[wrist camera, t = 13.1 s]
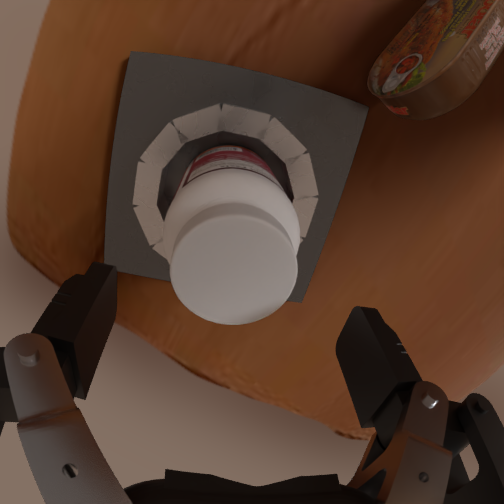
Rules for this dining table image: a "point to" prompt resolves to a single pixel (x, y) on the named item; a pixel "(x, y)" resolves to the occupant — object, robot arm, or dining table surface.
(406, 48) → the tin
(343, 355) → the robot arm
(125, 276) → the dining table surface
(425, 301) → the dining table surface
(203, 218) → the pill bottle
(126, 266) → the collar
